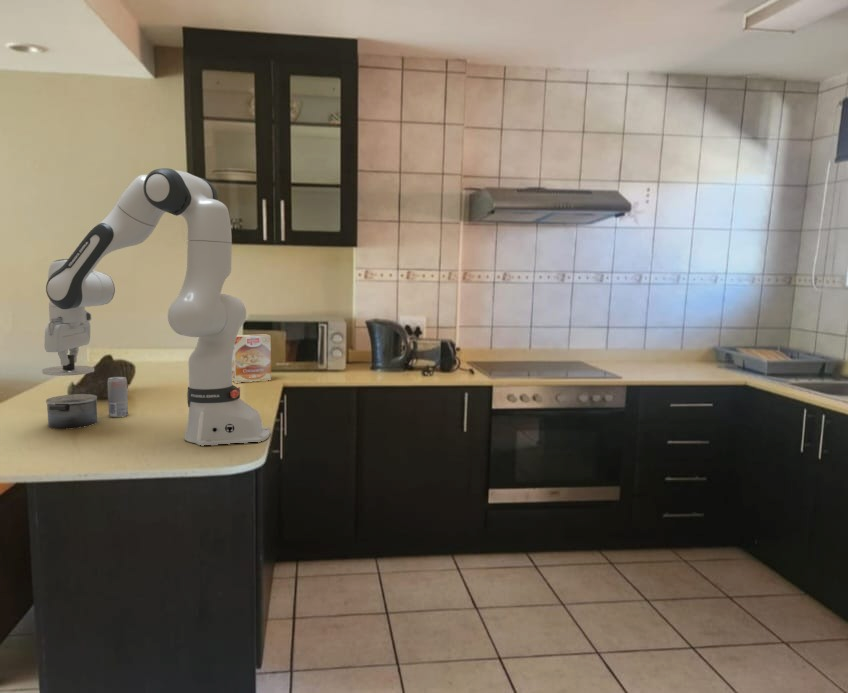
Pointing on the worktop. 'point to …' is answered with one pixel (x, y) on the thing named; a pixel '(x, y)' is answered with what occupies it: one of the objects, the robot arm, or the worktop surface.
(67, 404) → the pot
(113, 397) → the energy drink
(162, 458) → the worktop surface
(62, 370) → the lid
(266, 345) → the coffeecake box
